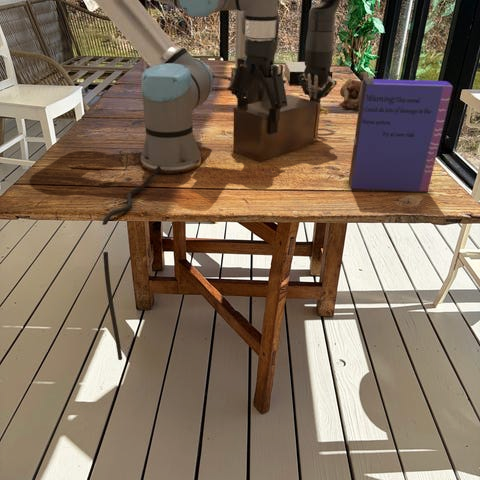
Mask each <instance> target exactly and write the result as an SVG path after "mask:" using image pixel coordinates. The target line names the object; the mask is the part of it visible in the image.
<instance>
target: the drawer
mask: <svg viewBox="0 0 480 480" xmlns="http://www.w3.org/2000/svg"><path fill="white" fill-rule="evenodd" d="M321 105H322V104H321V102H320V103H317V105H316V106H317V108H316V118H315V128H314V138H313V140H314V139H318V135H319V125H320V115H328V114H329V113H330V109H329V108H326V107H322V106H321Z"/></svg>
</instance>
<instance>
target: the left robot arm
mask: <svg viewBox="0 0 480 480" xmlns="http://www.w3.org/2000/svg"><path fill="white" fill-rule="evenodd" d="M93 1H94V2H95V3H96V4H97V6H98V7H99V8H100V9H101V11H102V12H103V13H104V14H105V15H106V17H108V19H109V20H110V22H112V23H113V25H114V26H115V27H116V29H118V31H119V32H120V34H122V36H123V37H124V38H125V39H126V40H127V41H128V43H129V44H130V45H131V46H132V47H133V48H134V49H135V51H136V52H137V53H138V54H139V55H140V57H141V58H142V59H143V61H144V60H145V61H146V63H147V64H148V65H149V66H150V68H148V69H146V70H145V71H144V70H143V72H142V74H141V79H140V80H141V85H140V91H141V95H142V97H141V98H142V106H143V115H144V125H145V138H144V142H143V146H142V150H141V154H140V162H141V166H142V168H144V169H145V170H146V171H149V172H151V173H150V174H149V176H148V177H147V178H146V180H144V182H142V183H141V184H140V185H139V186H138V187H135V188H134V189H132V190H131V191H129V193H128V194H127V195H126V202H127V204H126V205H125V206H124V207H120V208H119V207H118V208H115V209H113V210H111V211H109V212H108V213H107V214H106V215H105V217H104V218H103V220H102V224H101V225H103V226H105V225H108V222H109V221H110V219H112V217H113V216H115V215H117V214H121V213H125V212H127V211H128V210H130V209H131V208H132V205H133V201H132V197H133V196H134V195H135V194H137V193H139V192H140V191H142V190H144V189H145V188H146V187H147V186H148V185H149V183H150V182H151V181H152V179H154V177H155V176H156V175H157V174H163V175H164V174H165V175H169V174H170V175H172V174H173V175H175V174H182V173H187V172H190V171H193V170H195V169H197V168H198V167H199V166H201V163H202V155H201V151H200V149H199V147H200V148H202V147H203V142H201V141H197V140H196V137H195V135H194V130H193V129H194V126H193V111H194V110H195V109H197V108H198V107H200V106H202V105H203V104H204V103H205V102H206V101H207V100H208V98H209V97H210V95H211V93H212V90H213V87H214V82H213V81H214V78H213V77H212V74H213V73H212V71H210V69H209V68H208V66H209V65H207V64H206V63H205V62H204V61H202V60H200V59H198V58H195V57H194V56H192V54H191V53H190V52H189V50H187V49H186V48H185V46H180V45H176V44H175V43H174V42H173V41H172V39H171V38H170V37H169V36H168V35H167V34H166V32H165V30H164V29H162V27H161V26H160V25H159V23H158V22H157V21H156V20H155V19H154V17H153V16H152V14H150V13H149V11H148V10H147V9H146V7H145V6H144V5H143V4H142V3H141V2H140V0H93ZM154 1H155V2H159V3H162V4H166V5H169V6H172V7H174V8H177V9H180V10H182V11H184V13H186V14H187V15H188V16H190V17H193V18H206V17H209V16H210V15H211V16H212V15H213V14H215V13H218V12H221V11H236V10H238V11H245V37H247V39H246V40H245V55H246V56H247V58H246V57H244V58H238V59H237V71H236V75H235V79H234V83H233V88H231V95H232V96H235V98H236V107H239V106H243V105H247V104H248V98H245V97H247V95H246V94H247V92H248V90H249V88H250V86H251V85H252V83H253V81H254V79H255V78H257V79H259V80H261V82H262V83H263V84H264V87H265V90H266V92H267V95H268V98H269V101H270V104H271V106H272V107H271V108H270V109H269V125H268V134H274V133H277V131H278V121H279V120H280V109H281V108H282V107H286V106H287V99H286V95H287V93H286V87H285V83H284V81H283V80H284V75H283V72H284V66H283V65H282V64H275V62H274V63H273V57H274V55H275V56H276V53H275V46H276V41H275V40H274V39H273V38H275V37H276V22H277V11H278V3H279V0H154ZM247 68H248V69H247ZM267 77H268V78H267ZM275 102H276V103H275ZM102 255H103V256H102V257H103V268H104V280H105V288H106V295H107V300H108V301H107V302H108V308H109V313H110V318H111V324H112V330H113V334H114V340H115V341H114V342H115V347H116V352H117V359H118V360H119V361H122V360H123V353H122V347H121V341H120V334H119V328H118V323H117V317H116V312H115V306H114V299H113V293H112V286H111V285H112V284H111V277H110V266H109V265H110V263H109V252H108V251H103V253H102Z"/></svg>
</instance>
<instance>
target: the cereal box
mask: <svg viewBox="0 0 480 480" xmlns="http://www.w3.org/2000/svg"><path fill="white" fill-rule="evenodd" d="M362 81H363V83H362V90H361V97H360V104H359V105H358V110H357V111H358V113H357V119H356V126H355V133H354V139H353V146H352V152H351V153H352V154H351V161H350V168H349V176H348V184H349V186H350V189H351V190H363V191H388V192H389V191H390V192H410V193H411V192H416V193H429V187H430V184H431V179H432V175H433V171H434V167H435V162H436V159H437V155H438V151H439V147H440V143H441V138H442V134H443V130H444V126H445V122H446V117H447V113H448V112H447V111H448V108H449V105H450V102H451V101H450V100H451V96H452V92H453V88H454V86H453V85H452V84H451V83H450V82H449V81H447V80H420V79H419V80H418V79H388V78H383V79H382V78H368V79H363V78H362Z"/></svg>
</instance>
